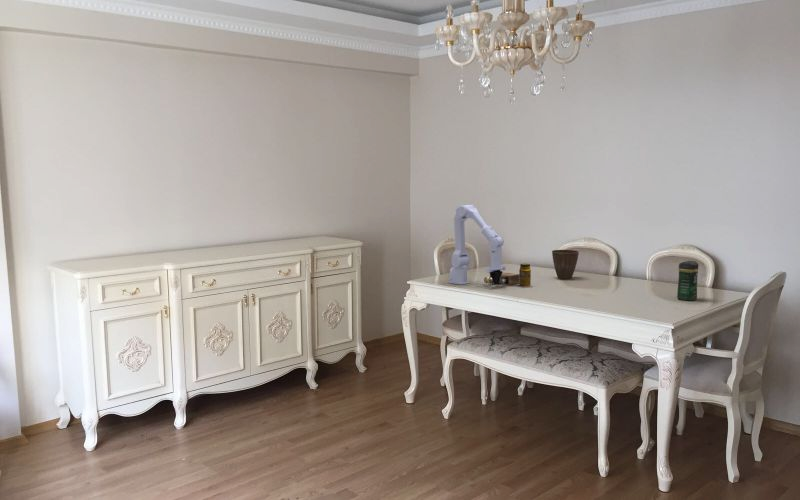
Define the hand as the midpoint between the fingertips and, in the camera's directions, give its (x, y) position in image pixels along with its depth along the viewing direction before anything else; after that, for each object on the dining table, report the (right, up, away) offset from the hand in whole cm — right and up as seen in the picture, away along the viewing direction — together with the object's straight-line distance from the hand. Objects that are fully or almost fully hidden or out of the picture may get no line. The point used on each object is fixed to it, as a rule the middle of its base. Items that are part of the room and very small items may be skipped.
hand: (495, 284), depth 357 cm
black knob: (+5, 0, +5) cm, 7 cm away
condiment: (+16, -1, +4) cm, 16 cm away
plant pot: (+43, +2, +27) cm, 51 cm away
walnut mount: (+6, 0, +12) cm, 14 cm away
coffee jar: (+86, -5, -37) cm, 94 cm away
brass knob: (-1, +1, +10) cm, 10 cm away
